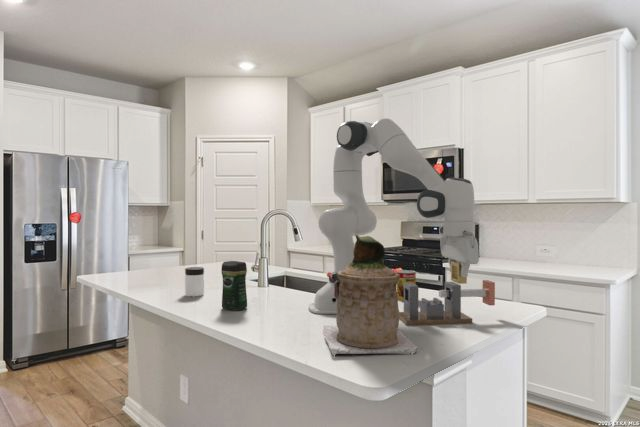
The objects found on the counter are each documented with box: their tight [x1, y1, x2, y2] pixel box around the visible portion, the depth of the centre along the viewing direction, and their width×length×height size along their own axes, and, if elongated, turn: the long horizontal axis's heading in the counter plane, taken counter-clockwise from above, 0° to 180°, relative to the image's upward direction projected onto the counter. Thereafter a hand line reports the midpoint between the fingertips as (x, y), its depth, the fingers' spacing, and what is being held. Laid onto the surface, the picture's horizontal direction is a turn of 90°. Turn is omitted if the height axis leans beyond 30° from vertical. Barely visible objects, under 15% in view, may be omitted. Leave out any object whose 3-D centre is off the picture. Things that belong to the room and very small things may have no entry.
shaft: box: [438, 279, 496, 306], centre depth 157 cm, size 19×5×8 cm, turn 96°
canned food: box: [396, 269, 417, 302], centre depth 189 cm, size 8×8×12 cm
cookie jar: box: [322, 234, 418, 356], centre depth 131 cm, size 25×25×32 cm
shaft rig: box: [399, 281, 473, 326], centre depth 156 cm, size 23×12×12 cm, turn 96°
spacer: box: [450, 261, 468, 285], centre depth 138 cm, size 2×6×6 cm, turn 6°
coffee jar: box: [220, 260, 248, 311], centre depth 174 cm, size 10×8×19 cm
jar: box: [184, 266, 205, 298], centre depth 201 cm, size 9×8×12 cm
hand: (458, 274), depth 138 cm, fingers closed on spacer, 6 cm apart
